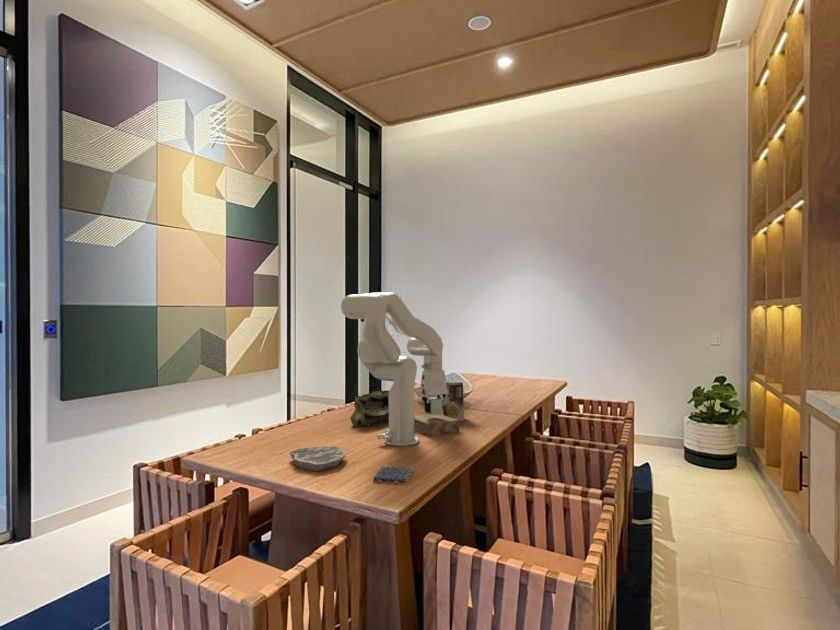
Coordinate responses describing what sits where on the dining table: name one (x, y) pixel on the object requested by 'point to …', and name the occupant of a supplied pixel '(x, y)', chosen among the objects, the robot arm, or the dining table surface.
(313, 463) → the flat grey stone slab
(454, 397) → the coffee box
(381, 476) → the bristly blue-grey mat
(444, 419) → the block
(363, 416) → the hollow geode rock
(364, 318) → the robot arm
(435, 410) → the sage block
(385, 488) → the dining table surface
